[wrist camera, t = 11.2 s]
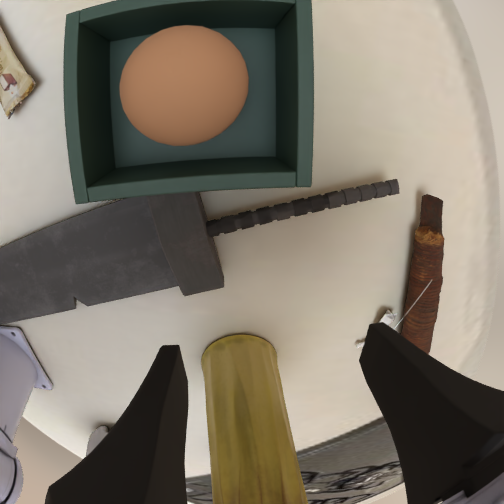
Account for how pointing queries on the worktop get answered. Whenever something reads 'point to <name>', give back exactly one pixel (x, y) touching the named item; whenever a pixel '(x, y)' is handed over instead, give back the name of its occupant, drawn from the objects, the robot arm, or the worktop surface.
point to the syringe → (387, 320)
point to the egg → (184, 85)
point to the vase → (249, 425)
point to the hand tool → (425, 276)
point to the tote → (206, 153)
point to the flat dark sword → (135, 250)
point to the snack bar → (12, 78)
